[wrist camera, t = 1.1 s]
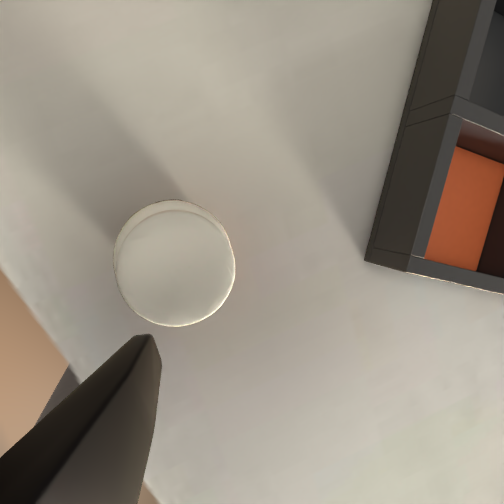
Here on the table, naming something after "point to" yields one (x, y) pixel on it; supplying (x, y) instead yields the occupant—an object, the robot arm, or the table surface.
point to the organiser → (450, 155)
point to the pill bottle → (173, 263)
